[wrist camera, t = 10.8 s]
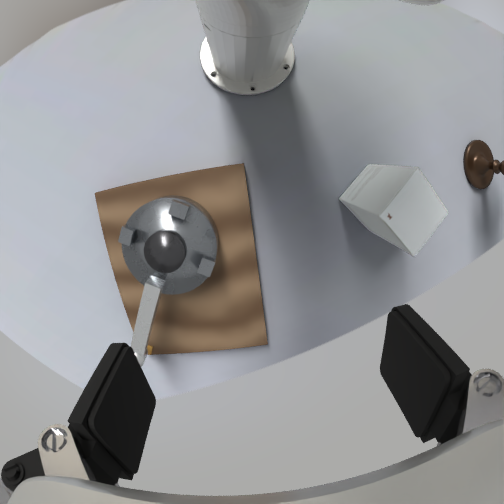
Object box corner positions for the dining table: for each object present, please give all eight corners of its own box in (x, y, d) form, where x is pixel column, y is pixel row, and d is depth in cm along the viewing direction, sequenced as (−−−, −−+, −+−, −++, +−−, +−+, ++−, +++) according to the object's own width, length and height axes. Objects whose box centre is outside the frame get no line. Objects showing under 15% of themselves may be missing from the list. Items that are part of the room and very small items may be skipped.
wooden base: (101, 191, 36) (94, 193, 34) (243, 163, 36) (243, 163, 34) (145, 347, 44) (142, 355, 42) (266, 337, 44) (267, 345, 42)
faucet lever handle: (146, 182, 34) (127, 187, 28) (232, 214, 36) (230, 225, 29) (112, 326, 40) (96, 350, 34) (180, 353, 42) (172, 380, 36)
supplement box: (368, 232, 40) (413, 260, 28) (336, 198, 38) (376, 215, 26) (398, 197, 38) (450, 213, 26) (369, 161, 36) (418, 165, 24)
